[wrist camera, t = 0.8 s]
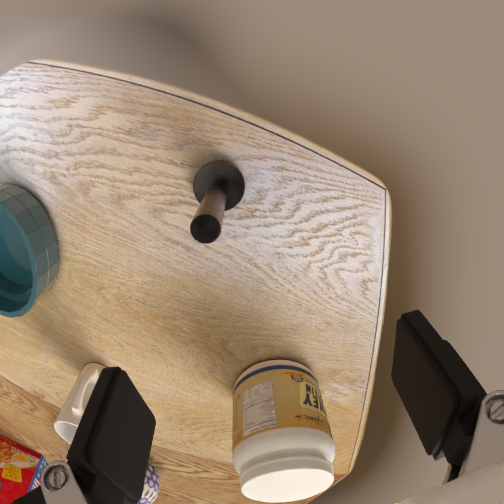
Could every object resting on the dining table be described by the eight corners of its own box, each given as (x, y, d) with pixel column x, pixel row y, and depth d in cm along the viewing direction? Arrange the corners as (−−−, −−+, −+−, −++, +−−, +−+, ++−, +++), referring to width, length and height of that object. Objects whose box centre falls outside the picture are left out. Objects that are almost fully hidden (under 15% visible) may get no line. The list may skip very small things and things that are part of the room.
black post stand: (190, 166, 30) (153, 197, 17) (239, 155, 30) (239, 178, 17) (201, 213, 32) (176, 275, 19) (249, 203, 32) (256, 260, 19)
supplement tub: (329, 388, 43) (357, 483, 27) (262, 419, 45) (270, 511, 30) (290, 341, 39) (314, 453, 23) (215, 379, 41) (209, 485, 25)
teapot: (86, 419, 45) (64, 481, 32) (163, 439, 47) (152, 507, 34) (103, 471, 55) (91, 518, 41) (161, 486, 57) (155, 535, 43)
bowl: (-31, 203, 29) (-58, 216, 24) (38, 166, 29) (7, 176, 23) (6, 299, 35) (-15, 321, 30) (79, 285, 35) (58, 311, 29)
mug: (120, 396, 43) (101, 456, 31) (82, 383, 41) (57, 439, 30) (123, 354, 39) (97, 420, 28) (80, 339, 38) (46, 399, 27)
